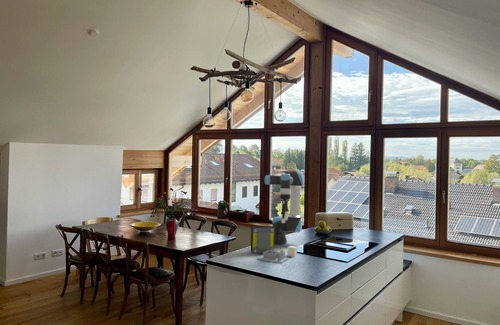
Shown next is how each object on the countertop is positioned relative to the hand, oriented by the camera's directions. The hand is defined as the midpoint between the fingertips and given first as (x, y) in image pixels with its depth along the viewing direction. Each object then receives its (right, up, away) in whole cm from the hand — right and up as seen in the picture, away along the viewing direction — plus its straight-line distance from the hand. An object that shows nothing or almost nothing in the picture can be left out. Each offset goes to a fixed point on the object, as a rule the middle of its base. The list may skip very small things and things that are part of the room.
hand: (284, 221), depth 283 cm
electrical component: (-17, -27, +12) cm, 34 cm away
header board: (-10, -27, -10) cm, 30 cm away
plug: (+6, -27, +1) cm, 28 cm away
